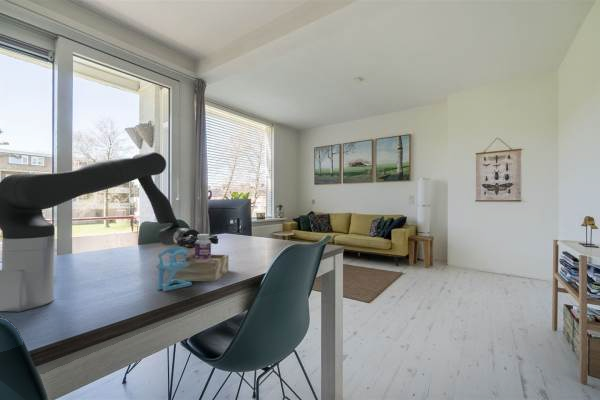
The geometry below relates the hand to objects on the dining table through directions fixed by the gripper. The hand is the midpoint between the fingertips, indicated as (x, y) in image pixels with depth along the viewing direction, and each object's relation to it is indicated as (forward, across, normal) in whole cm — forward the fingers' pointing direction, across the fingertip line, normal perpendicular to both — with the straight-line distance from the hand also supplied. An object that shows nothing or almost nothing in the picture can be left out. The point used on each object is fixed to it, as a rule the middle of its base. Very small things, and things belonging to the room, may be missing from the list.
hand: (205, 242), depth 93 cm
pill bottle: (-2, 0, +7) cm, 7 cm away
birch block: (-2, 0, +12) cm, 12 cm away
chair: (+4, -13, +12) cm, 18 cm away
